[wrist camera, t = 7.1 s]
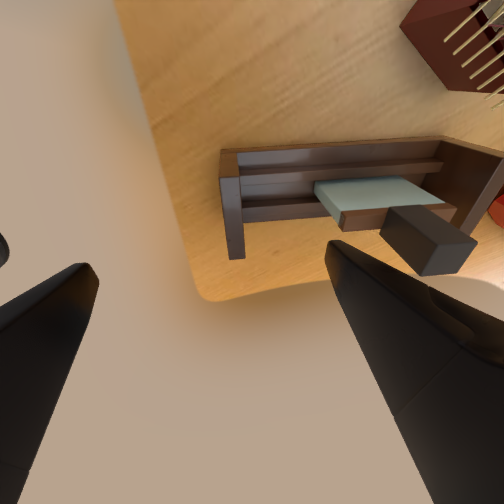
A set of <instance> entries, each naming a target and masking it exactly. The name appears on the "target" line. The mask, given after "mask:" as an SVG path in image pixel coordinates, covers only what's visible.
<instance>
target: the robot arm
mask: <svg viewBox="0 0 504 504" xmlns="http://www.w3.org/2000/svg"><path fill="white" fill-rule="evenodd" d="M325 264H326V267H327V270H328V273H329V276H330V279H331V282H332V285H333V288H334V291H335V294H336V296H337V298H338V301H339V303H340V305H341V307H342V309H343V311H344V313H345V316H346V318H347V320H348V322H349V324H350V326H351V328H352V330H353V333H354V335H355V337H356V339H357V341H358V343H359V345H360V347H361V350H362V352H363V354H364V356H365V358H366V360H367V362H368V364H369V367H370V369H371V371H372V373H373V375H374V377H375V379H376V381H377V384H378V386H379V388H380V390H381V392H382V394H383V396H384V398H385V401H386V403H387V405H388V407H389V408H390V411H391V413H392V415H393V416H394V420H395V422H396V424H397V426H398V429H399V431H400V433H401V435H402V437H403V439H404V441H405V443H406V445H407V448H408V450H409V452H410V454H411V456H412V458H413V460H414V462H415V465H416V467H417V469H418V471H419V473H420V475H421V477H422V479H423V481H424V484H425V486H426V488H427V490H428V492H429V494H430V496H431V499H432V501H433V503H434V504H504V321H501V320H499V319H497V318H495V317H493V316H491V315H488V314H486V313H484V312H482V311H479V310H477V309H475V308H473V307H471V306H469V305H466V304H464V303H462V302H460V301H458V300H456V299H454V298H452V297H450V296H448V295H446V294H444V293H442V292H440V291H438V290H436V289H434V288H432V287H430V286H429V287H428V286H427V285H426V284H424V283H422V282H421V281H419V280H417V279H415V278H413V277H411V276H409V275H407V274H405V273H403V272H401V271H399V270H397V269H395V268H393V267H391V266H389V265H388V264H386V263H384V262H382V261H380V260H378V259H376V258H374V257H372V256H370V255H368V254H366V253H364V252H362V251H360V250H358V249H356V248H355V247H353V246H351V245H349V244H347V243H345V242H343V241H341V240H331V241H329V242H328V244H327V248H326V253H325ZM98 287H99V279H98V277H97V275H96V274H95V272H94V271H93V269H92V267H91V266H90V264H88V263H75V264H73V265H71V266H69V267H68V268H66V269H64V270H62V271H61V272H59V273H57V274H55V275H54V276H52V277H50V278H49V279H47V280H45V281H43V282H42V283H40V284H38V285H37V286H35V287H33V288H32V289H30V290H28V291H26V292H24V293H23V294H21V295H19V296H18V297H16V298H14V299H12V300H11V301H9V302H7V303H6V304H4V305H2V306H0V504H17V502H18V500H19V497H20V495H21V492H22V490H23V487H24V485H25V482H26V479H27V477H28V475H29V470H30V469H31V467H32V464H33V462H34V459H35V457H36V454H37V451H38V449H39V447H40V444H41V441H42V439H43V437H44V434H45V431H46V429H47V426H48V424H49V421H50V418H51V416H52V414H53V411H54V409H55V406H56V404H57V401H58V399H59V396H60V394H61V391H62V389H63V386H64V384H65V381H66V378H67V376H68V374H69V371H70V369H71V366H72V363H73V361H74V359H75V356H76V354H77V351H78V349H79V346H80V343H81V341H82V338H83V336H84V333H85V331H86V328H87V326H88V323H89V320H90V317H91V313H92V309H93V306H94V302H95V298H96V295H97V291H98Z"/></svg>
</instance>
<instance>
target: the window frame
mask: <svg viewBox="0 0 504 504" xmlns="http://www.w3.org/2000/svg"><path fill="white" fill-rule="evenodd" d="M396 175H398V176H400V177H402V178H403V179H405V180H407V181H409V182H410V183H412V184H414V185H416V186H417V187H419V188H421V189H423V190H424V191H426V192H428V193H430V194H431V195H433V196H435V197H437V198H438V199H440V200H442V201H444V202H445V203H449V204H451V205H453V206H455V207H456V208H457V210H456V212H455V214H454V215H453V217H452V219H451V221H450V222H449V223H450V224H451V225H453V226H455V227H456V228H458V229H459V230H461V231H462V232H464V233H465V234H467V235H468V236H470V235H471V233H472V232H473V230H474V228H475V227H476V225H477V224H478V222H479V221H480V219H481V218H482V216H483V215H484V213H485V212H486V210H487V209H488V207H489V206H490V204H491V203H492V201H493V200H494V198H495V197H496V195H497V193H498V192H499V190H500V189H501V187H502V186H503V184H504V152H502V151H498V150H494V149H491V148H487V147H483V146H480V145H476V144H472V143H469V142H465V141H461V140H457V139H454V138H450V137H447V136H430V137H414V138H398V139H382V140H366V141H350V142H334V143H318V144H302V145H286V146H270V147H253V148H237V149H221V151H220V166H219V186H220V194H221V201H222V209H223V217H224V225H225V232H226V240H227V248H228V256H229V260H234V259H245V258H246V256H245V242H244V228H243V223H252V222H265V221H278V220H290V219H303V218H316V217H329V216H331V215H330V213H329V212H328V211H327V209H326V208H325V207H324V205H323V204H322V203H321V201H320V200H319V199H318V197H317V196H316V195H315V194H314V185H315V181H325V180H339V179H353V178H367V177H382V176H396Z"/></svg>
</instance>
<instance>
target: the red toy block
mask: <svg viewBox="0 0 504 504" xmlns="http://www.w3.org/2000/svg"><path fill="white" fill-rule="evenodd" d="M488 211H489V213H490V215H491V216H492V218H493V220H494V221H495V223H496V224H497V225H499V226H501V227H502V228H504V194H503V195H501V196H500V197H499V198H497V199H496V200H494V202H493V203H492V205H491V206H490V208H489V209H488Z"/></svg>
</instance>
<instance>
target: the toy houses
mask: <svg viewBox="0 0 504 504" xmlns="http://www.w3.org/2000/svg"><path fill="white" fill-rule="evenodd" d="M489 1H490V0H418V1H417V2H416V3H415V5H414V6H413V8H412V9H411V10H410V12H409V13H408V15H407V16H406V17H405V19H404V20H403V21H402V23H401V24H400V26H399V27H400V28H401V29H402V31H403V32H404V33H405V35H406V36H407V37H408V38H409V40H410V41H411V42H412V44H413V45H414V46H415V48H416V49H417V50H418V51H419V53H420V54H421V55H422V57H423V58H424V59H425V60H426V62H427V63H428V64H429V66H430V67H431V68H432V70H433V71H434V72H435V73H436V75H437V76H438V77H439V79H440V80H441V81H442V83H443V84H444V85H445V86H446V88H447V89H448V90H451V91H467V92H482V93H491V94H490V95H488V96H487V97H485V98H484V99H485V101H486V100H487V99H489V98H490V97H492V96H493V95H495V94H496V93H498V94H504V25H495V24H491V23H492V22H493V21H495V20H496V19H497V18H498V17H499V16H500V15H501V14H503V13H504V9H503V10H502V8H503V7H504V3H503V4H502V6H501V7H500V8H499V9H498V10H497V11H496V12H495V14H494V15H493V16H492V17H491V18H490V19H489V20H488V19H487V17H486V16H485V14H484V12H483V10H482V8H483V7H484V6H485V5H486V4H487V3H488V2H489ZM479 3H481V4H480V5H479ZM492 26H493V27H501V28H500V29H499V30H498V31H497V32H496V33H495V31H494V30H493V28H492ZM503 103H504V100H503V101H501V102H500V103H498V104H496V105H495V106H493V107H492V108H491V109H492V110H494V109H495V108H497V107H499V106H500V105H502V104H503Z"/></svg>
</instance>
